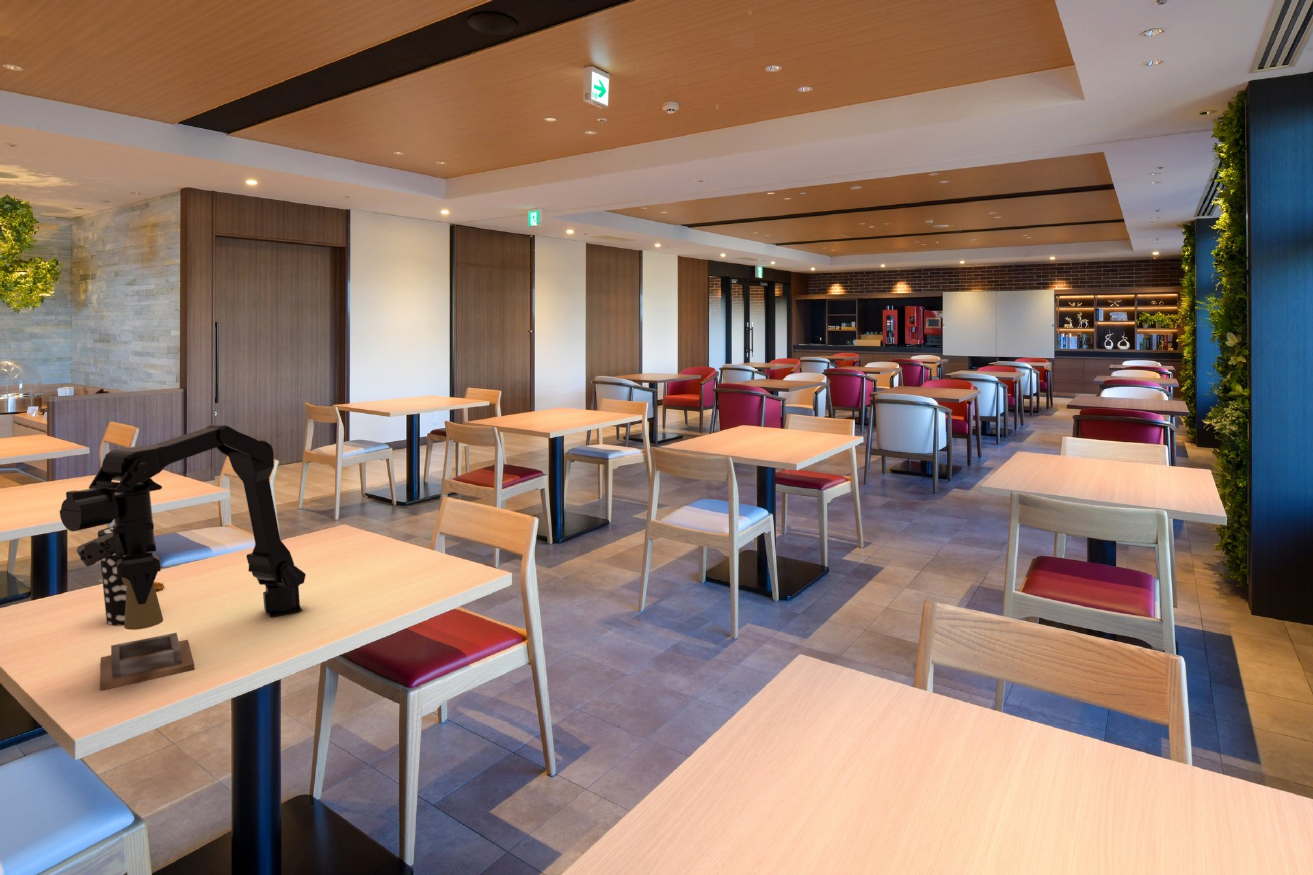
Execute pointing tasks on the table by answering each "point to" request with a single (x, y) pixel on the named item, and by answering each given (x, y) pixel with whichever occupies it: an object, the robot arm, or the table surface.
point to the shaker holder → (145, 660)
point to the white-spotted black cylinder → (113, 587)
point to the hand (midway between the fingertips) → (141, 600)
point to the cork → (141, 609)
